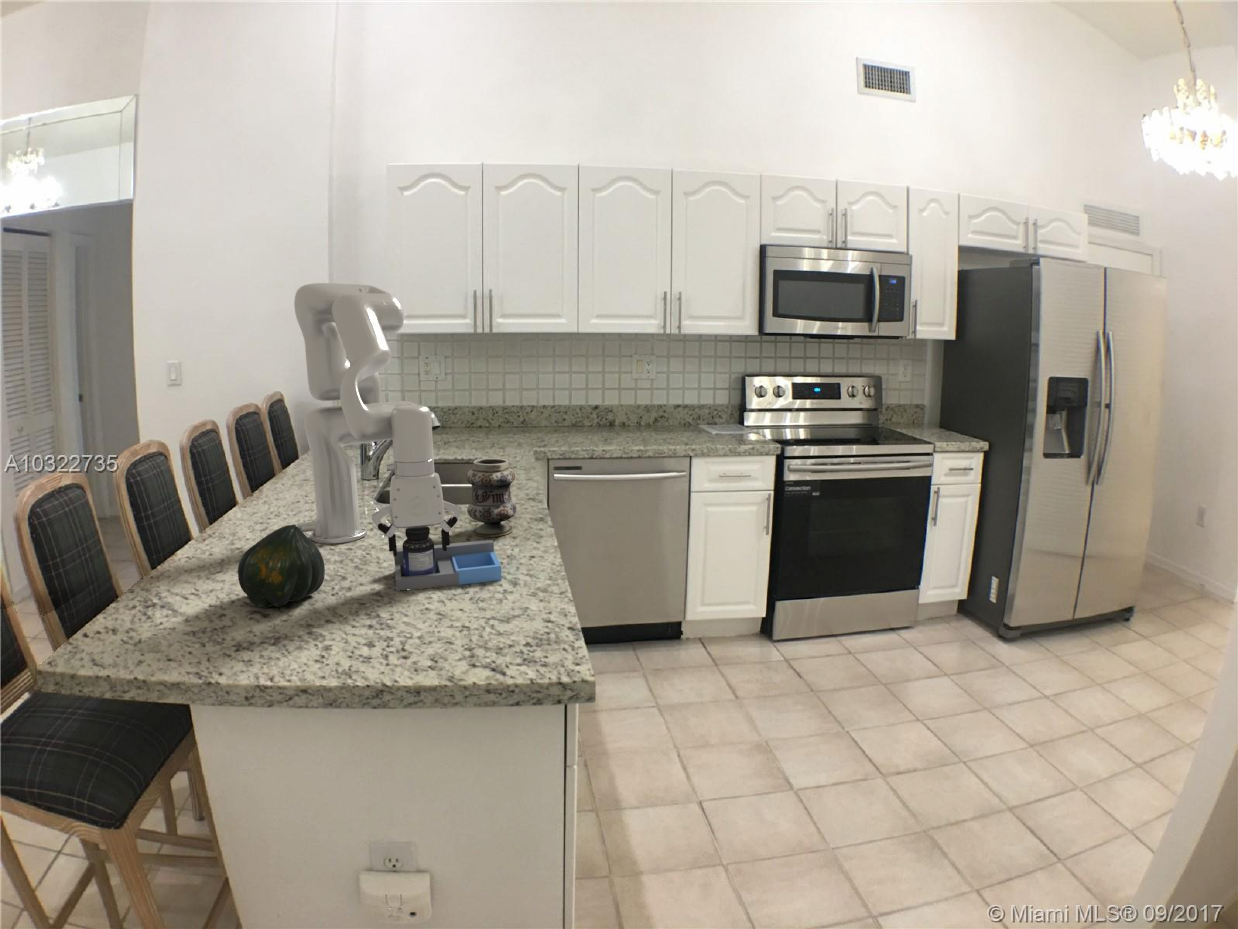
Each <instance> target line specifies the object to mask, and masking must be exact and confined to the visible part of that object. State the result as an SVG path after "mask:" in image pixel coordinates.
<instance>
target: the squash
mask: <svg viewBox="0 0 1238 929" xmlns="http://www.w3.org/2000/svg"><path fill="white" fill-rule="evenodd" d="M237 566H238V568H237V579H238V582H239V585H240V586H239V587H240V588H241V590H242V591H243V593H244V594H245V595H246V596H247V598H248V601H249V602H250V603H251V604H252V605H254V606H255V607H258V608H264V609H265V607H266V608H269V607H271V606H273V607H276V608H281V607H283V606H285V605H286V604H287V603H289V601H290V602H297V601H301V600H302V599H304V598H306V597H308V596H311V595H312V594H314V593H316V592H317V591H318V590H319V589H320V588H321V586H322V585H323V583H324V580H325V574H326V569H325V566H326V565H325V561H324V558H323V556H322V553H321V552H320V550H319V548H318V546H317V545H316V544H315V543H314V541H313V540H312V539H310V538H309V537H308V536H307V535H306V534H305V532H302V530H300V529H299V528H298V527H297V524H294V523H293V524H287V525H284V526H282V527H279V528H277V529H275V530H274V531H271V533H269V534H267V535H266V536H264V537H263V538H261V539H260V540H259V541H257V542H256V543H254V545H252V546H250V547H249V548H248V549H247V550H246V551H245V552H244V553H243V554H242V556H241V558H240V560H239V564H238V565H237Z"/></svg>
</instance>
